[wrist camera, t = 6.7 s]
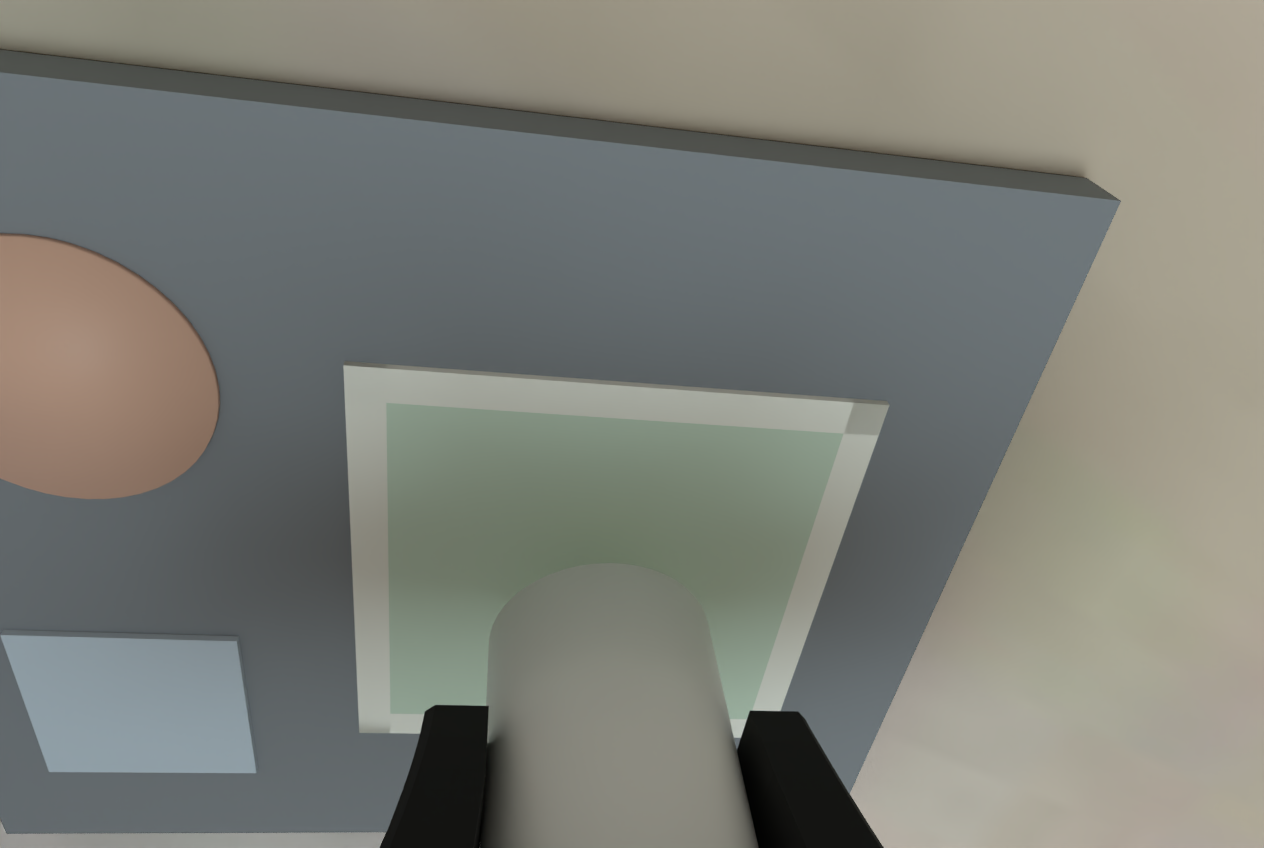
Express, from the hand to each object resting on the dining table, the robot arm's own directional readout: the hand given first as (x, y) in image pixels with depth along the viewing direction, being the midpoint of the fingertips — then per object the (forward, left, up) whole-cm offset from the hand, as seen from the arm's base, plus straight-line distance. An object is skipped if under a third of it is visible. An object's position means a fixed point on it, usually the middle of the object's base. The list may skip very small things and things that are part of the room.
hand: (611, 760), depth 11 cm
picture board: (0, +2, -4) cm, 4 cm away
